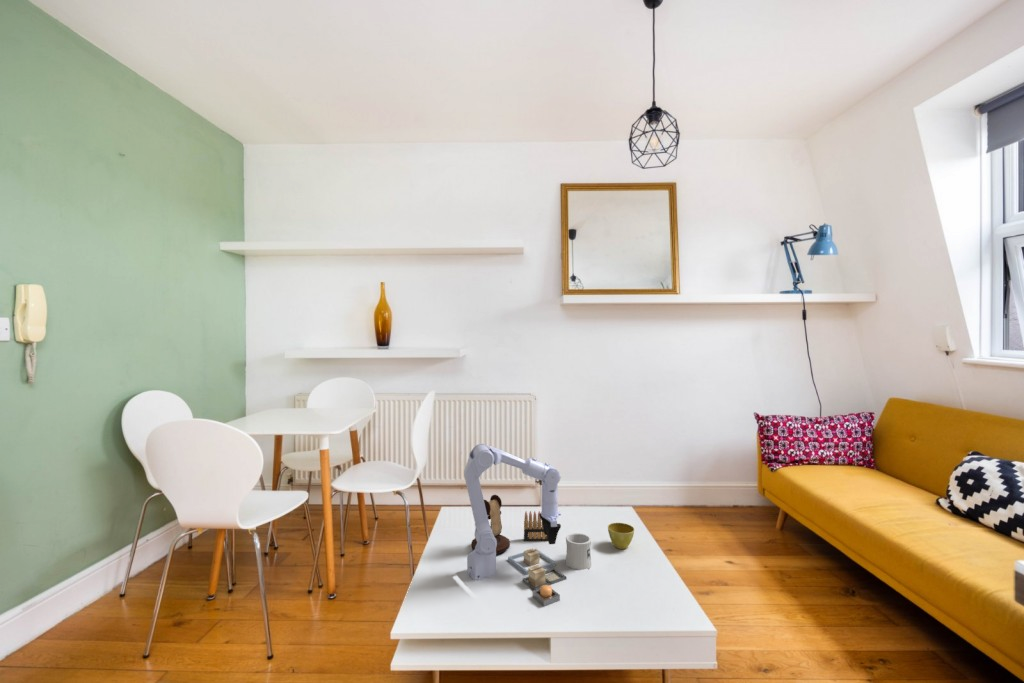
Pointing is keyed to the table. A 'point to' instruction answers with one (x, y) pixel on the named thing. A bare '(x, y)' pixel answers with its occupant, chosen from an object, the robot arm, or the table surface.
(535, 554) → the tan cardboard block
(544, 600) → the button housing
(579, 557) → the mug
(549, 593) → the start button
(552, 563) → the light blue square tray
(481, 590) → the table surface
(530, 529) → the ammunition clip
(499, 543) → the scroll
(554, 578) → the plate
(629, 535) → the flower pot
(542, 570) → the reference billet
